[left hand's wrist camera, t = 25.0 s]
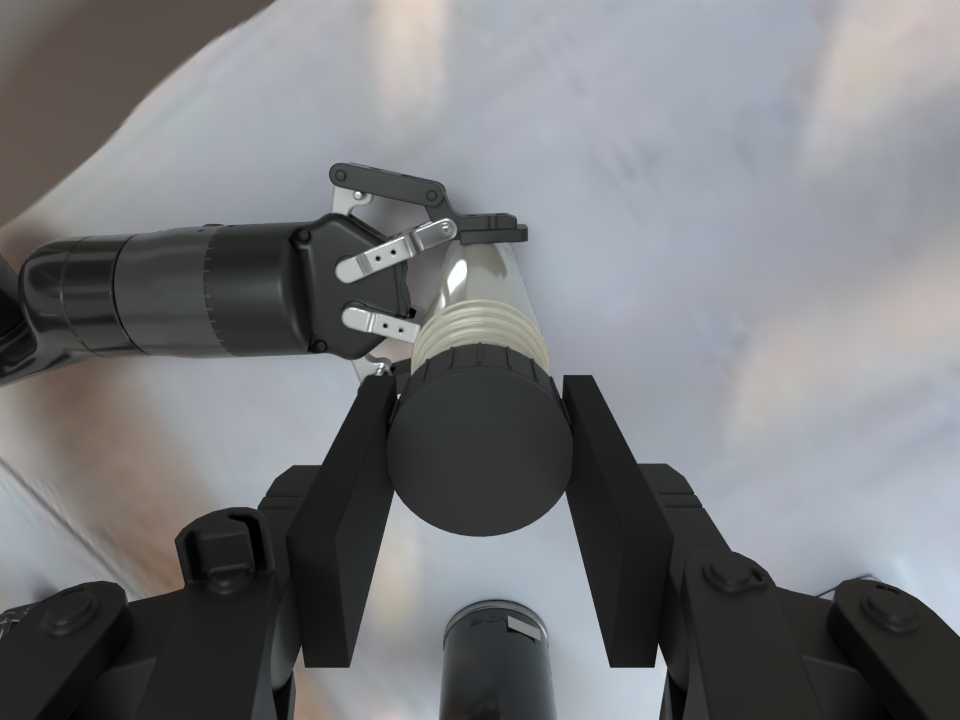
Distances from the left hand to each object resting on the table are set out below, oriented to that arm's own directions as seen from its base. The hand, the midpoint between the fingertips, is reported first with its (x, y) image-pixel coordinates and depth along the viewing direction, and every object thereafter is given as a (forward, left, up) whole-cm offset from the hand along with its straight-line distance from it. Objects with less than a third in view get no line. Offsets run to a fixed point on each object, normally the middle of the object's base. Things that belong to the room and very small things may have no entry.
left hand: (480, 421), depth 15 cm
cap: (0, 0, +2) cm, 2 cm away
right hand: (0, +3, -17) cm, 18 cm away
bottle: (0, 0, -24) cm, 24 cm away
